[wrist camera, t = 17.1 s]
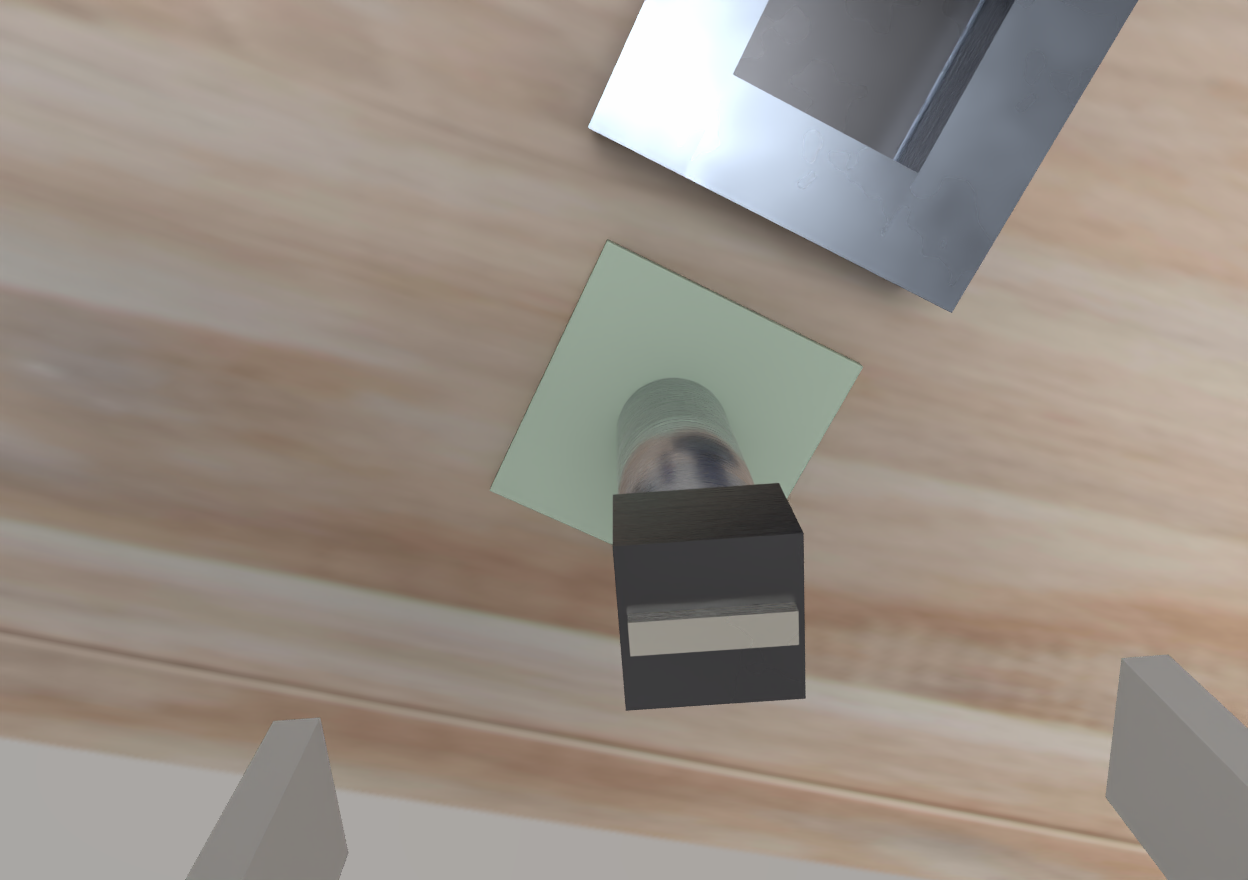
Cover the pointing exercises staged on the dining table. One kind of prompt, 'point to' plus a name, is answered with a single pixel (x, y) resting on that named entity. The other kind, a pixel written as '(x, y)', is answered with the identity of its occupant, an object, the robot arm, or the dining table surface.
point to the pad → (656, 349)
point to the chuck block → (862, 115)
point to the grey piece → (701, 560)
